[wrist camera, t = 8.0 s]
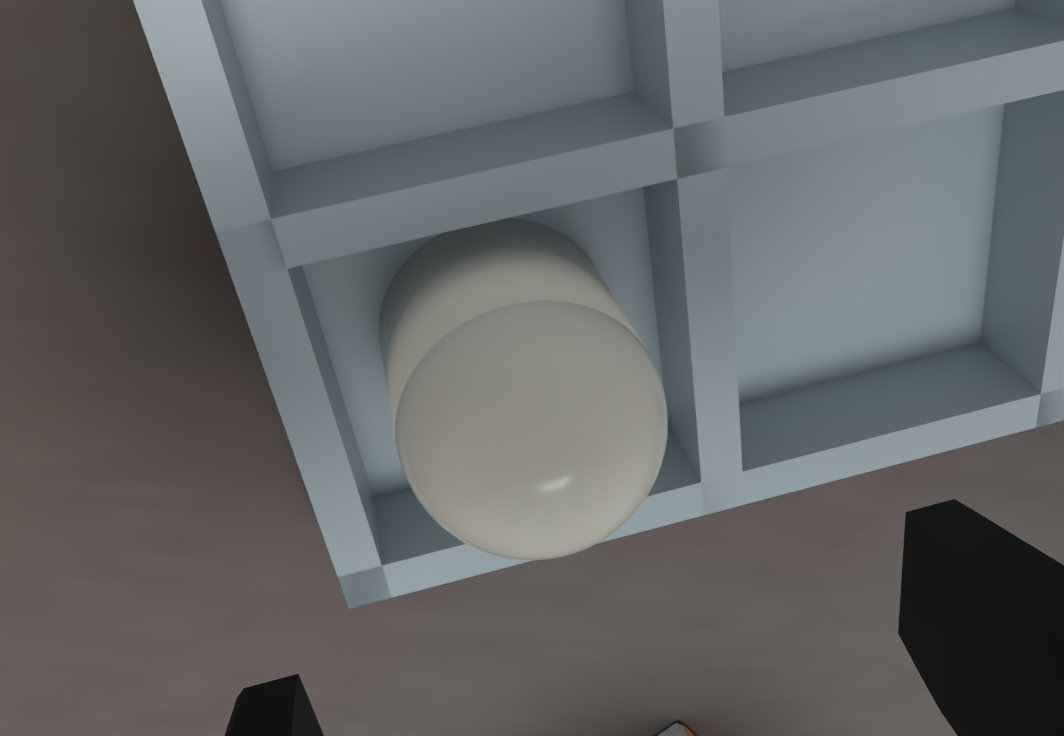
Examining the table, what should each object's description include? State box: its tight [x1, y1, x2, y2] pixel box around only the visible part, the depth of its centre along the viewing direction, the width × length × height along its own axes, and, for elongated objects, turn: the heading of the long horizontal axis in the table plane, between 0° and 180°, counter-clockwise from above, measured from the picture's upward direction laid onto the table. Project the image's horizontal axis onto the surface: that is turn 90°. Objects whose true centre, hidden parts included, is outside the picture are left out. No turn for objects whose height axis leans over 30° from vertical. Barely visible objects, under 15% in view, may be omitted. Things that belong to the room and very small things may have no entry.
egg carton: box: [133, 0, 1064, 609], centre depth 16 cm, size 14×21×2 cm
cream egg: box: [379, 218, 668, 560], centre depth 16 cm, size 4×4×5 cm
